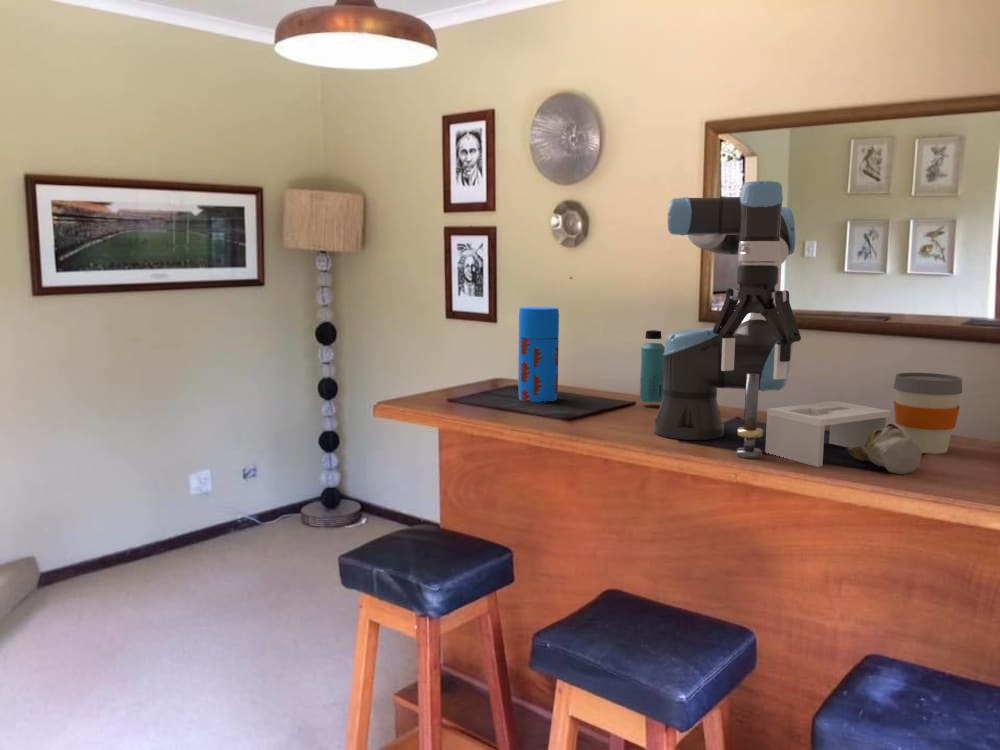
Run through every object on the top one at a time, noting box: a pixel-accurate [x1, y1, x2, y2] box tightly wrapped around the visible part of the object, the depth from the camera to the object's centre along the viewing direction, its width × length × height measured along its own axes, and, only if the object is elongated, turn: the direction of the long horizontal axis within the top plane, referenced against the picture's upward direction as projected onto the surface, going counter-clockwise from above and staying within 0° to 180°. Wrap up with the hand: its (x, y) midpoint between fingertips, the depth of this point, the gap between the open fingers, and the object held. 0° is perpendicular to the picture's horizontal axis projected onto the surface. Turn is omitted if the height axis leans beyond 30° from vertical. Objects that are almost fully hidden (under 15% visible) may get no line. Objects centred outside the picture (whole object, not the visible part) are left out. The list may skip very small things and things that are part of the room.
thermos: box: [517, 306, 560, 403], centre depth 228 cm, size 11×11×25 cm
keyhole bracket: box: [764, 400, 891, 468], centre depth 166 cm, size 20×13×9 cm, turn 119°
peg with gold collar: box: [735, 373, 764, 460], centre depth 163 cm, size 5×5×16 cm
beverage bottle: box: [639, 329, 665, 404], centre depth 218 cm, size 6×7×20 cm
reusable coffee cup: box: [893, 372, 963, 454], centre depth 171 cm, size 13×13×15 cm
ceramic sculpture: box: [844, 423, 923, 475], centre depth 156 cm, size 11×9×15 cm
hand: (752, 374), depth 162 cm, fingers open, 13 cm apart
